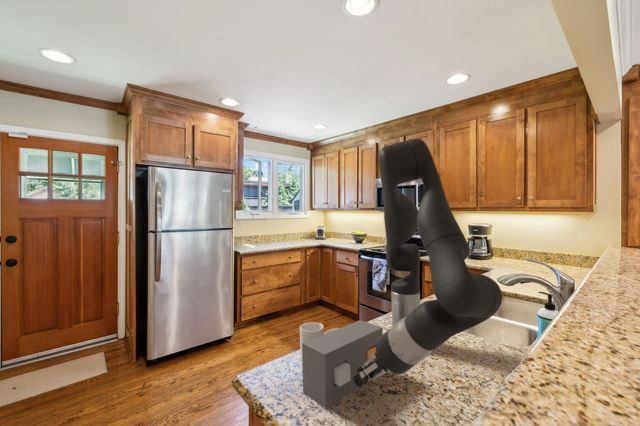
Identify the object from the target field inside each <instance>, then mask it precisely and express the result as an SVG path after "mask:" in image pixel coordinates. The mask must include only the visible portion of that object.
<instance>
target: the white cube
mask: <svg viewBox="0 0 640 426" xmlns="http://www.w3.org/2000/svg"><path fill="white" fill-rule="evenodd" d="M333 371H334V383H335V384H336V385H338V386H342V385H344V384H345V383H347V382H349V381H350V365H349V364H347V363H345V362H342V363H340V364H338V365H336V366H334V367H333Z"/></svg>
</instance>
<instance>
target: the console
mask: <svg viewBox="0 0 640 426" xmlns="http://www.w3.org/2000/svg"><path fill="white" fill-rule="evenodd" d="M383 328H384V327H382V326H379V325H376V324H373V323H369V322H367V321H365V320H361V319H359V320H357V321H354V322H351V323H349V324H347V325H345V326H342V327H339V329H337V330H334V331H332V332H329V333H327V334H325V333H324V335H322V336H319V337H317V338H314V339H312V340H309V341H307V342H304V343H302V358H303V372H302V393H303V394H304V395H306V396H307V397H309V398H310V399H311V400H313V401H314V402H316V403H317V404H318V405H319V406H321V407H323V408H324V409H328V408H329V407H330V406H332V405H334V404H335V403H337V402H338V401H340V400H341V399H343V398H344V397H346V396H348V395H349V394H350V393H352V392H353V391H355V390H357V389H359V387H357V385H356V383H355V382H354V380H353V377H355V376H356V375H357V373H356V372H357V369H358V368H359V367H363V366H364V364H365V363H366V350H367V349H368V348H370V347H372V346H376V344H377V341H378V339H379V338H380V337H381V336H382V335H383V334H384V333H383V331H384V330H383ZM376 352H377V350H376ZM342 362H345V363H347V364H349V365H350V381H349V382H347V383H345V384H344V385H342V386H338V385H336V384H335V383H334V371H333V367H334V366H336V365H338V364H340V363H342ZM371 380H372V379H370V381H371Z"/></svg>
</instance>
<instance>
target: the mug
mask: <svg viewBox="0 0 640 426" xmlns="http://www.w3.org/2000/svg"><path fill="white" fill-rule="evenodd" d="M324 328H325V327H324V325H323V324H322V323H321V322H313V321H312V322H311V321H310V322H305V323H302V324H301V325H299V347H300V369H301V372H302V373H303V358H302V343H304V342H307V341H309V340H312V339H314V338H317V337H319V336H322V335H324V334H325V332H324Z"/></svg>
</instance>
